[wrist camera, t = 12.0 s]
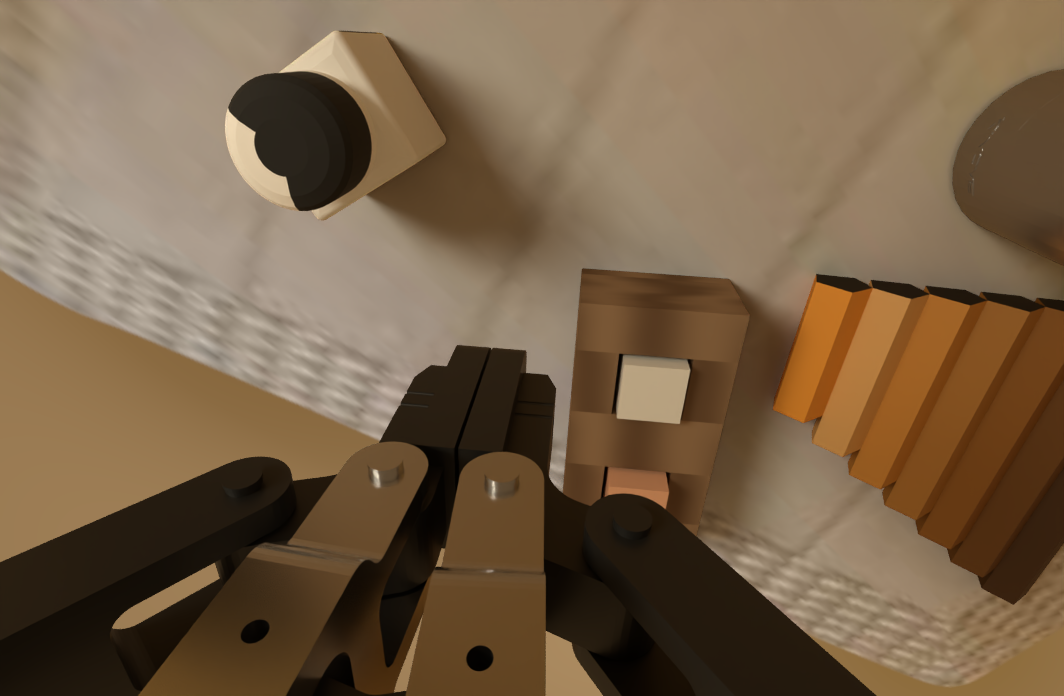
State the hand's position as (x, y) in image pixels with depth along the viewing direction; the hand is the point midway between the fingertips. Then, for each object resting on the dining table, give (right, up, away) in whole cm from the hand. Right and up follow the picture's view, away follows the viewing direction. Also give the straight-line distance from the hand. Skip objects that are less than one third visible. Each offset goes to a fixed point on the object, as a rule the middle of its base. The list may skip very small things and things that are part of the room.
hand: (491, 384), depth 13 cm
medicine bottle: (-9, +15, +24) cm, 30 cm away
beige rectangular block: (+9, 0, +28) cm, 29 cm away
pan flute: (+31, -6, +32) cm, 45 cm away
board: (+9, -3, +31) cm, 33 cm away
